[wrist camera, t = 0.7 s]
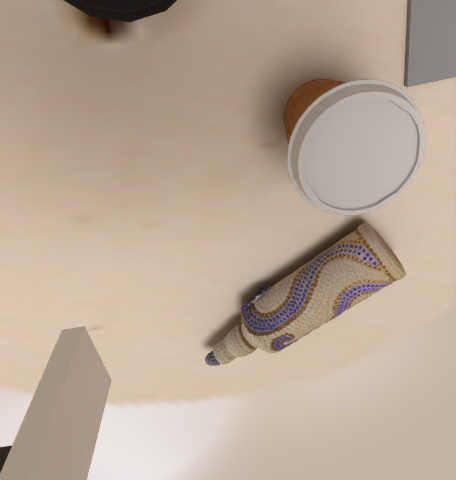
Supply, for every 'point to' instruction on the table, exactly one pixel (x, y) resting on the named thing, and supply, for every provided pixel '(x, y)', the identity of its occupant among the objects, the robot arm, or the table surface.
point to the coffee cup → (122, 8)
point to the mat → (430, 41)
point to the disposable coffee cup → (353, 144)
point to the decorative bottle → (311, 295)
